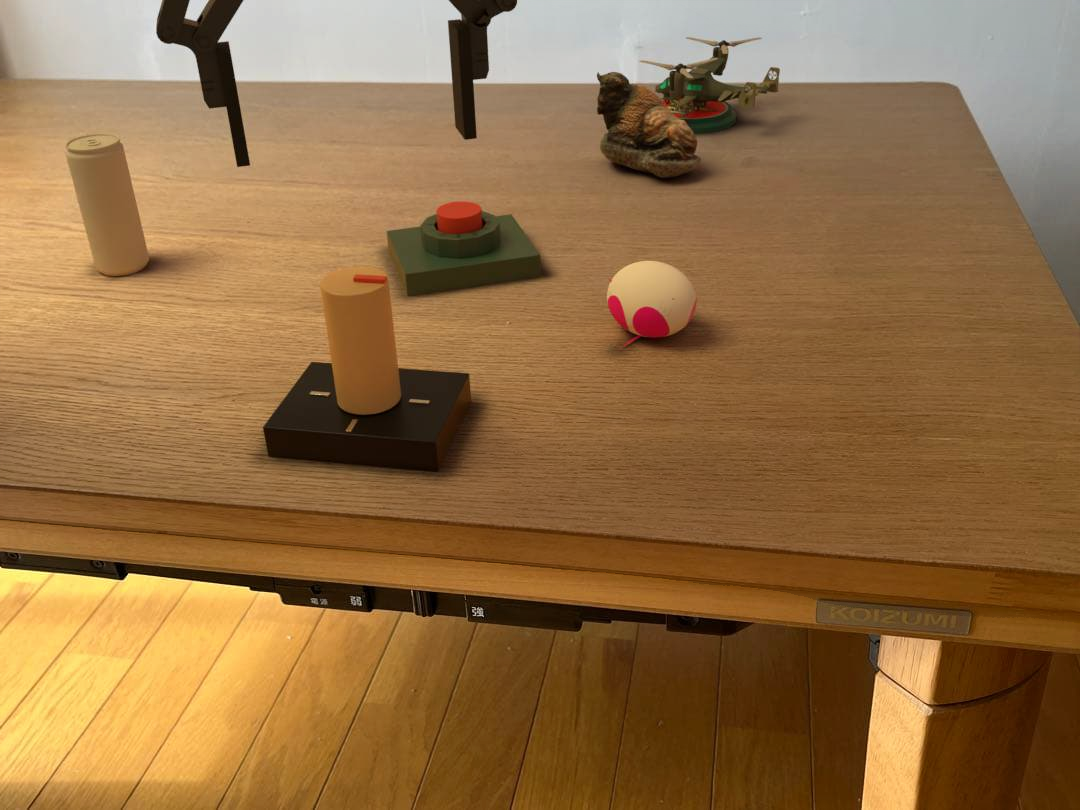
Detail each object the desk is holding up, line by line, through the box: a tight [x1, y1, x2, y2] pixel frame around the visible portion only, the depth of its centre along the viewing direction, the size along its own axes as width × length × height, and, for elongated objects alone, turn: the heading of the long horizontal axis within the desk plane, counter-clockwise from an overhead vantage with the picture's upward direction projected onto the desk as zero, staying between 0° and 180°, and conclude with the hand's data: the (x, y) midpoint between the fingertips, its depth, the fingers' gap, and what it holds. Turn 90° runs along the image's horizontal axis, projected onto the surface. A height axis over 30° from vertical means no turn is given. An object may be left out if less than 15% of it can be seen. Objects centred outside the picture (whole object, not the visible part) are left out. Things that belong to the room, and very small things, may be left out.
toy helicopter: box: [638, 36, 781, 135], centre depth 132 cm, size 20×15×8 cm
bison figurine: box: [596, 71, 702, 179], centre depth 118 cm, size 12×7×10 cm, turn 56°
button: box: [436, 200, 483, 234], centre depth 99 cm, size 4×4×2 cm
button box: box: [386, 210, 542, 297], centre depth 100 cm, size 12×10×4 cm
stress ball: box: [606, 260, 697, 349], centre depth 88 cm, size 8×8×7 cm
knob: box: [319, 265, 401, 415], centre depth 74 cm, size 4×4×9 cm
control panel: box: [262, 361, 472, 473], centre depth 77 cm, size 12×9×3 cm
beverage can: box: [64, 132, 150, 277], centre depth 100 cm, size 5×5×12 cm
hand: (356, 146), depth 67 cm, fingers open, 13 cm apart
